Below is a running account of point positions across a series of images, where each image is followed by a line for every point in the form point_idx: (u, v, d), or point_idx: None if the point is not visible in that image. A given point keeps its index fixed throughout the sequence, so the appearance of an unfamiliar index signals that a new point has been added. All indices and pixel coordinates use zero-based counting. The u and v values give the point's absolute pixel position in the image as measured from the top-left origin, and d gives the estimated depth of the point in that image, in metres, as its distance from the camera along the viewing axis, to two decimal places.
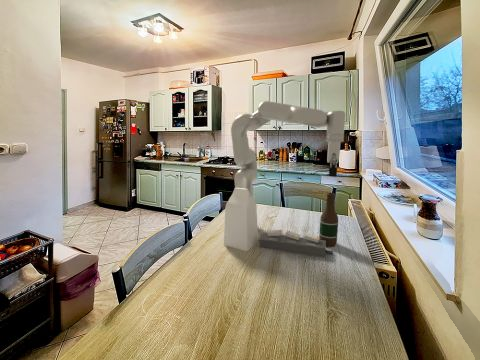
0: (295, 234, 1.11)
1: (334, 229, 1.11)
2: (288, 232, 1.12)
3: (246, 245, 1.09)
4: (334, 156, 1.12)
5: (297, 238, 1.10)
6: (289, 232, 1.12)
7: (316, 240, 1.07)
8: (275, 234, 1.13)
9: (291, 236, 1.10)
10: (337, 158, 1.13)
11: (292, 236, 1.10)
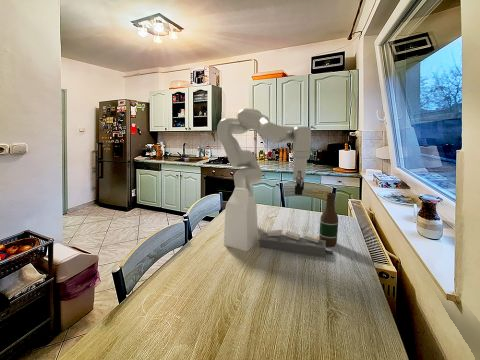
0: (295, 234, 1.11)
1: (334, 229, 1.11)
2: (288, 232, 1.12)
3: (246, 245, 1.09)
4: (299, 174, 1.07)
5: (297, 238, 1.10)
6: (289, 232, 1.12)
7: (316, 240, 1.07)
8: (275, 234, 1.13)
9: (291, 236, 1.10)
10: (302, 176, 1.08)
11: (292, 236, 1.10)
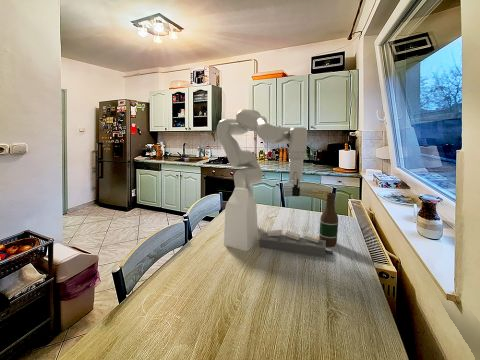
0: (295, 234, 1.11)
1: (334, 229, 1.11)
2: (288, 232, 1.12)
3: (246, 245, 1.09)
4: (295, 179, 1.09)
5: (297, 238, 1.10)
6: (289, 232, 1.12)
7: (316, 240, 1.07)
8: (275, 234, 1.13)
9: (291, 236, 1.10)
10: (299, 181, 1.10)
11: (292, 236, 1.10)
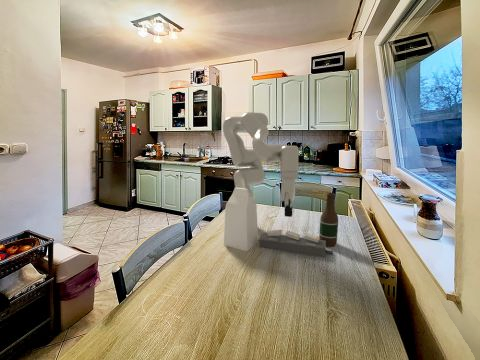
0: (295, 234, 1.11)
1: (334, 229, 1.11)
2: (288, 232, 1.12)
3: (246, 245, 1.09)
4: (287, 200, 1.05)
5: (297, 238, 1.10)
6: (289, 232, 1.12)
7: (316, 240, 1.07)
8: (275, 234, 1.13)
9: (291, 236, 1.10)
10: (291, 201, 1.05)
11: (292, 236, 1.10)
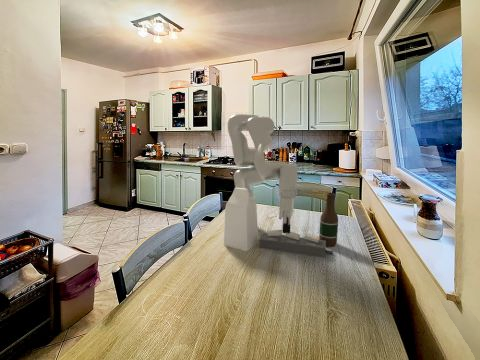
0: (295, 234, 1.11)
1: (334, 229, 1.11)
2: None
3: (246, 245, 1.09)
4: (285, 218, 1.06)
5: (297, 238, 1.09)
6: None
7: (316, 240, 1.07)
8: (275, 234, 1.13)
9: (291, 236, 1.10)
10: (289, 219, 1.07)
11: (292, 236, 1.10)
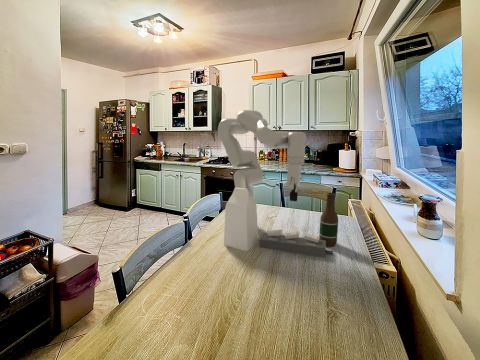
0: (294, 233, 1.11)
1: (334, 229, 1.11)
2: (287, 234, 1.12)
3: (246, 245, 1.09)
4: (292, 184, 1.08)
5: (297, 235, 1.09)
6: (288, 234, 1.12)
7: (316, 240, 1.07)
8: (275, 234, 1.13)
9: (291, 236, 1.10)
10: (296, 186, 1.09)
11: (291, 236, 1.10)
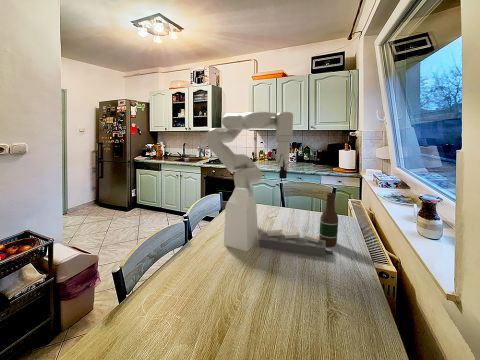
0: (294, 233, 1.11)
1: (334, 229, 1.11)
2: (287, 234, 1.12)
3: (246, 245, 1.09)
4: (281, 161, 1.14)
5: (297, 236, 1.09)
6: (288, 233, 1.12)
7: (316, 240, 1.07)
8: (275, 234, 1.13)
9: (291, 236, 1.10)
10: (285, 163, 1.15)
11: (292, 236, 1.10)
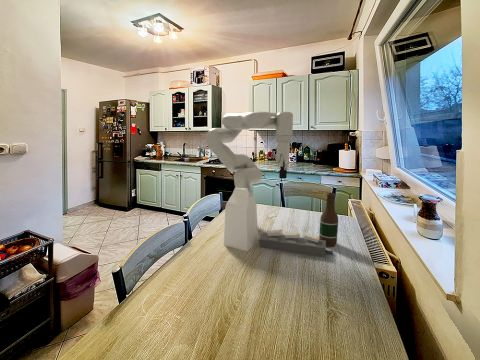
0: (294, 233, 1.11)
1: (334, 229, 1.11)
2: (287, 234, 1.12)
3: (246, 245, 1.09)
4: (281, 161, 1.14)
5: (297, 236, 1.09)
6: (288, 233, 1.12)
7: (316, 240, 1.07)
8: (275, 234, 1.13)
9: (291, 236, 1.10)
10: (285, 163, 1.15)
11: (292, 236, 1.10)
